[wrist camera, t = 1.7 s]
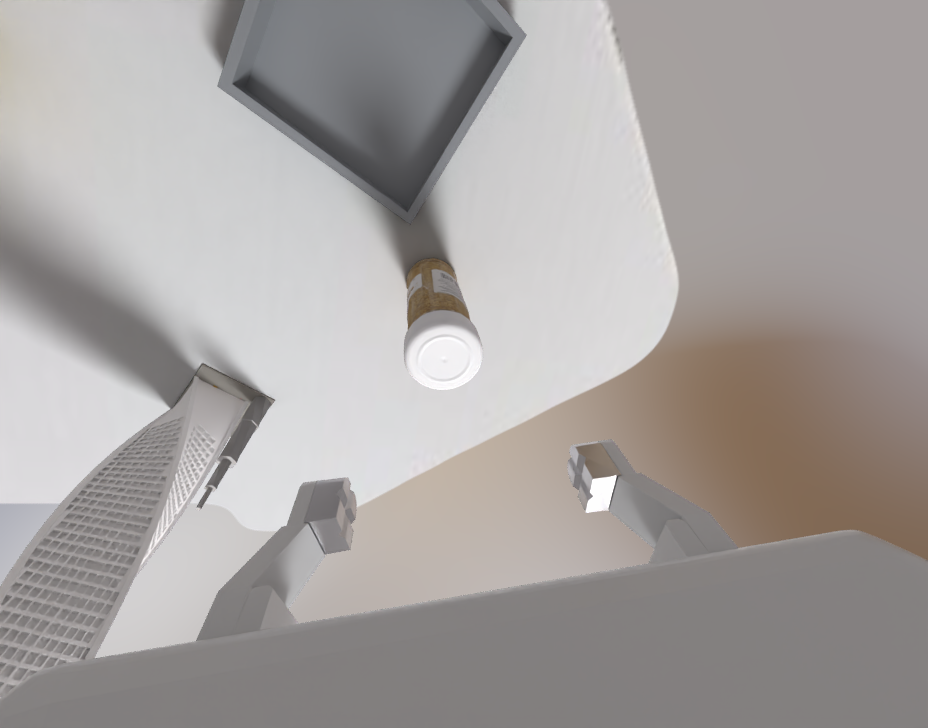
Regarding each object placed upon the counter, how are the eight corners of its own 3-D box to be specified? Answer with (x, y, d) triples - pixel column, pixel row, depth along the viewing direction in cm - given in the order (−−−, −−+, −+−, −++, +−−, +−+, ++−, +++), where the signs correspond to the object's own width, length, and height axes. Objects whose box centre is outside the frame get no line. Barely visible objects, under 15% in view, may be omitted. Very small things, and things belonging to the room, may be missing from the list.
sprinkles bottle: (396, 272, 29) (387, 346, 18) (443, 247, 29) (463, 308, 18) (422, 314, 32) (428, 404, 21) (465, 292, 31) (496, 372, 20)
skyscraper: (236, 446, 38) (-57, 939, 14) (154, 411, 34) (-427, 998, 10) (276, 398, 35) (-3, 904, 11) (191, 355, 31) (-471, 968, 8)
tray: (235, 92, 22) (217, 86, 20) (325, -169, 17) (313, -215, 15) (410, 219, 27) (410, 224, 25) (515, 46, 23) (526, 35, 20)
